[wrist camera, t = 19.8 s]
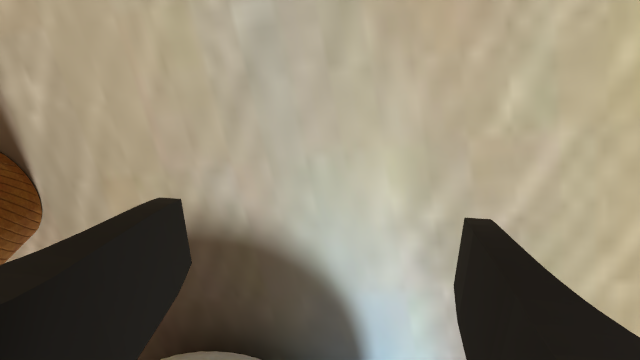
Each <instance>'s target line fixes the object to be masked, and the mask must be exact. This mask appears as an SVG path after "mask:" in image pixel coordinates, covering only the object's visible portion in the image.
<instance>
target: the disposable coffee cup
mask: <svg viewBox="0 0 640 360" xmlns="http://www.w3.org/2000/svg"><path fill="white" fill-rule="evenodd" d="M41 217H42V209H41V204H40V199H39V196H38V194H37V191H36V190H35V188H34V186H33V184H32V183H31V181H30V180H29V178H28V177H27V176H26V174H25V173H24V172H23V171H22V170H21V169H20V168H19V167H18V166H17V165H16V164H15V163H14V162H13V161H11V160H10V159H9V158H8V157H6V156H5V155H3V154H2V153H0V265H1V264H4V263H5V262H6V261H7V260H8V259H9V258H10V257H11V256H12V255H13V254H14V253H15V252H16V251H17V250H18V249H19V248H20V247H21V246H22V245H23V244H24V243H25V242H26V241H27V240H28V239H29V238H30V237H31V236H32V235H33V234H34V233H35V232H36V230H37V229H38V228H39V225H40V222H41Z"/></svg>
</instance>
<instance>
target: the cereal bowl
mask: <svg viewBox="0 0 640 360" xmlns="http://www.w3.org/2000/svg"><path fill="white" fill-rule="evenodd" d="M161 360H260V359H258V358H256V357H250V356H246V355H244V354H236V353H233V352H232V353H229V352H218V351H210V352H204V351H198V352H194V353H185V354H177V355H174V356H172V357H168V358H164V359H161Z"/></svg>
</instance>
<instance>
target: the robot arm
mask: <svg viewBox="0 0 640 360" xmlns="http://www.w3.org/2000/svg"><path fill="white" fill-rule="evenodd" d="M191 263H192V261H191V255H190V249H189V244H188V238H187V232H186V226H185V220H184V214H183V208H182V202H181V199H173V198H157V199H154V200H151V201H148V202H146V203H143V204H141V205H139V206H136V207H134V208H132V209H130V210H128V211H126V212H123V213H121V214H119V215H117V216H115V217H113V218H111V219H109V220H106V221H104V222H102V223H100V224H98V225H96V226H94V227H92V228H90V229H87V230H85V231H83V232H81V233H78V234H76V235H74V236H72V237H69V238H67V239H65V240H62V241H60V242H58V243H55V244H53V245H51V246H49V247H46V248H44V249H41V250H39V251H37V252H34V253H31V254H29V255H26V256H24V257H21V258H18V259H15V260H13V261H10V262H7V263H4V264H1V265H0V360H137V359H138V357H139V355H140V354H141V352H142V351H143V349H144V348H145V346H146V344H147V343H148V341H149V340H150V338H151V337H152V335H153V333H154V332H155V330H156V329H157V327H158V326H159V324H160V322H161V321H162V319H163V318H164V316H165V315H166V313H167V311H168V310H169V308H170V306H171V305H172V303H173V302H174V300H175V298H176V297H177V295H178V293H179V291H180V289H181V286H182V284H183V282H184V280H185V278H186V275H187V273H188V271H189V268H190V266H191ZM454 293H455V303H456V312H457V321H458V326H459V330H460V334H461V338H462V343H463V347H464V351H465V355H466V359H467V360H640V337H638V336H636V335H635V334H633V333H632V332H630V331H628V330H627V329H625V328H624V327H623V326H621V325H620V324H618V323H617V322H615V321H614V320H612V319H611V318H609V317H608V316H606V315H605V314H603V313H602V312H600V311H599V310H597V309H596V308H595V307H593V306H592V305H590V304H589V303H588V302H586V301H585V300H584V299H582V298H581V297H580V296H578V295H577V294H576V293H575V292H573V291H572V290H571V289H570V288H568V287H567V286H566V285H565V284H563V283H562V282H561V281H559V280H558V279H557V278H556V277H555V276H553V275H552V274H551V273H550V272H549V271H547V270H546V269H545V268H544V267H543V266H542V265H541V264H539V263H538V262H537V261H536V260H535V259H534V258H533V257H532V256H530V255H529V254H528V253H527V252H526V251H525V250H524V249H523V248H522V247H521V246H520V245H518V244H517V243H516V242H515V241H514V240H513V239H512V238H511V237H510V236H509V235H508V234H507V233H506V232H505V231H504V230H502V229H501V228H500V227H499V226H498V225H497V224H496V223H495V222H494V221H492V220H491V219H476V218H465V219H464V225H463V231H462V237H461V243H460V250H459V256H458V262H457V268H456V274H455V281H454Z"/></svg>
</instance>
